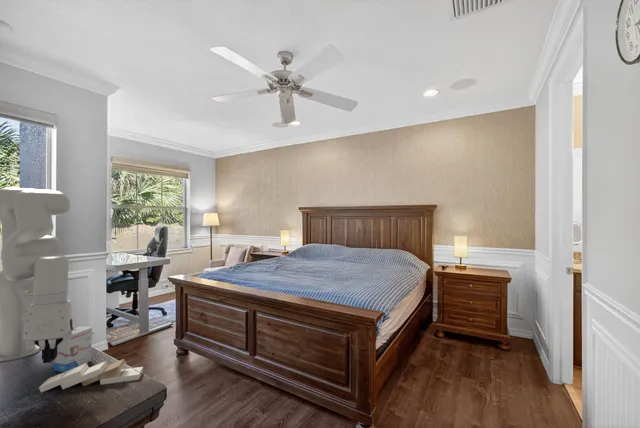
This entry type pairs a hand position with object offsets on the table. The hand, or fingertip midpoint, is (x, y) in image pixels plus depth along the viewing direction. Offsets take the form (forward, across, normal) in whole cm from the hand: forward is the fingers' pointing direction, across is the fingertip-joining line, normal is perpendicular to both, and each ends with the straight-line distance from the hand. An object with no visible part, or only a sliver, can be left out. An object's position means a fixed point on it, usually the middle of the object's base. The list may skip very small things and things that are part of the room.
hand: (49, 361), depth 86 cm
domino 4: (+7, +14, 0) cm, 15 cm away
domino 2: (+7, +4, 0) cm, 8 cm away
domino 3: (+7, +9, 0) cm, 11 cm away
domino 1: (+7, -1, 0) cm, 7 cm away
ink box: (+8, +1, +13) cm, 15 cm away
